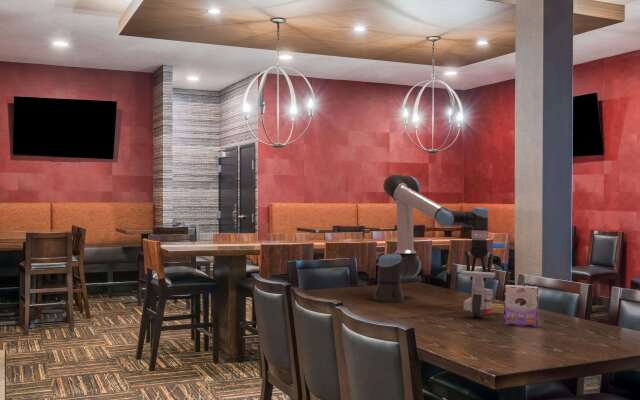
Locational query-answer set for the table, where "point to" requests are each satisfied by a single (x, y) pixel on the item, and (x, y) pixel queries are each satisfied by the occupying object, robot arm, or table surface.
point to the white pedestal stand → (477, 300)
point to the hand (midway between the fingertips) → (478, 287)
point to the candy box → (521, 305)
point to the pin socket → (498, 308)
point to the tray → (467, 304)
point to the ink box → (486, 300)
